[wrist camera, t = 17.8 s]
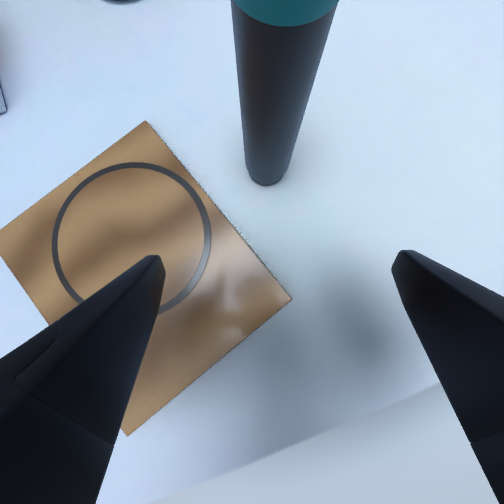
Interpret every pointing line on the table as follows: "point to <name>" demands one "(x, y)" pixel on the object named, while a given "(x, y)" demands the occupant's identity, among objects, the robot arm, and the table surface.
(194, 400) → the table surface
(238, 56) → the disc
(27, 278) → the sketch board
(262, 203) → the table surface
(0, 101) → the ink box
